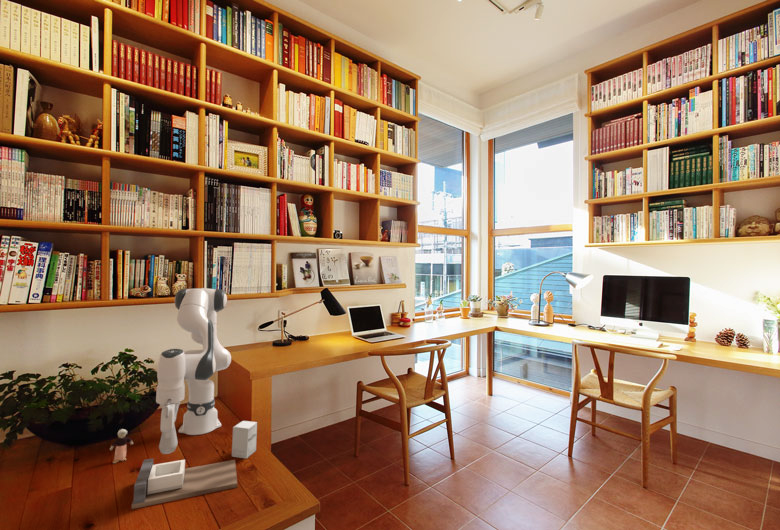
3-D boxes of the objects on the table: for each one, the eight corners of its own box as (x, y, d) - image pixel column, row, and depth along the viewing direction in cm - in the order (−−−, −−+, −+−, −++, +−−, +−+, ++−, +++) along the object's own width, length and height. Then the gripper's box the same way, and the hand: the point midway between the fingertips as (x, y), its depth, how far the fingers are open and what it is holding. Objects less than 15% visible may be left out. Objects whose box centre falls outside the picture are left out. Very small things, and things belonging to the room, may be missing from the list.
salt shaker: (181, 449, 133) (182, 413, 134) (167, 456, 128) (169, 419, 128) (168, 446, 135) (170, 411, 135) (154, 453, 130) (156, 416, 130)
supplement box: (246, 459, 153) (247, 428, 153) (231, 456, 154) (232, 426, 155) (256, 450, 160) (257, 421, 160) (241, 448, 162) (242, 420, 162)
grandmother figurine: (111, 465, 145) (112, 433, 145) (108, 462, 147) (109, 430, 148) (133, 458, 151) (135, 427, 151) (130, 455, 153) (131, 424, 154)
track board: (141, 480, 135) (142, 460, 136) (234, 463, 149) (235, 444, 149) (131, 509, 119) (132, 486, 119) (237, 487, 133) (238, 466, 133)
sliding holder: (152, 478, 134) (152, 464, 134) (184, 472, 138) (185, 459, 138) (147, 494, 124) (147, 479, 124) (182, 487, 129) (182, 473, 129)
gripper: (178, 403, 124) (176, 444, 124) (182, 386, 143) (181, 422, 142) (156, 406, 121) (154, 448, 121) (164, 388, 140) (162, 424, 139)
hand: (169, 434), depth 132 cm, fingers closed on salt shaker, 4 cm apart
